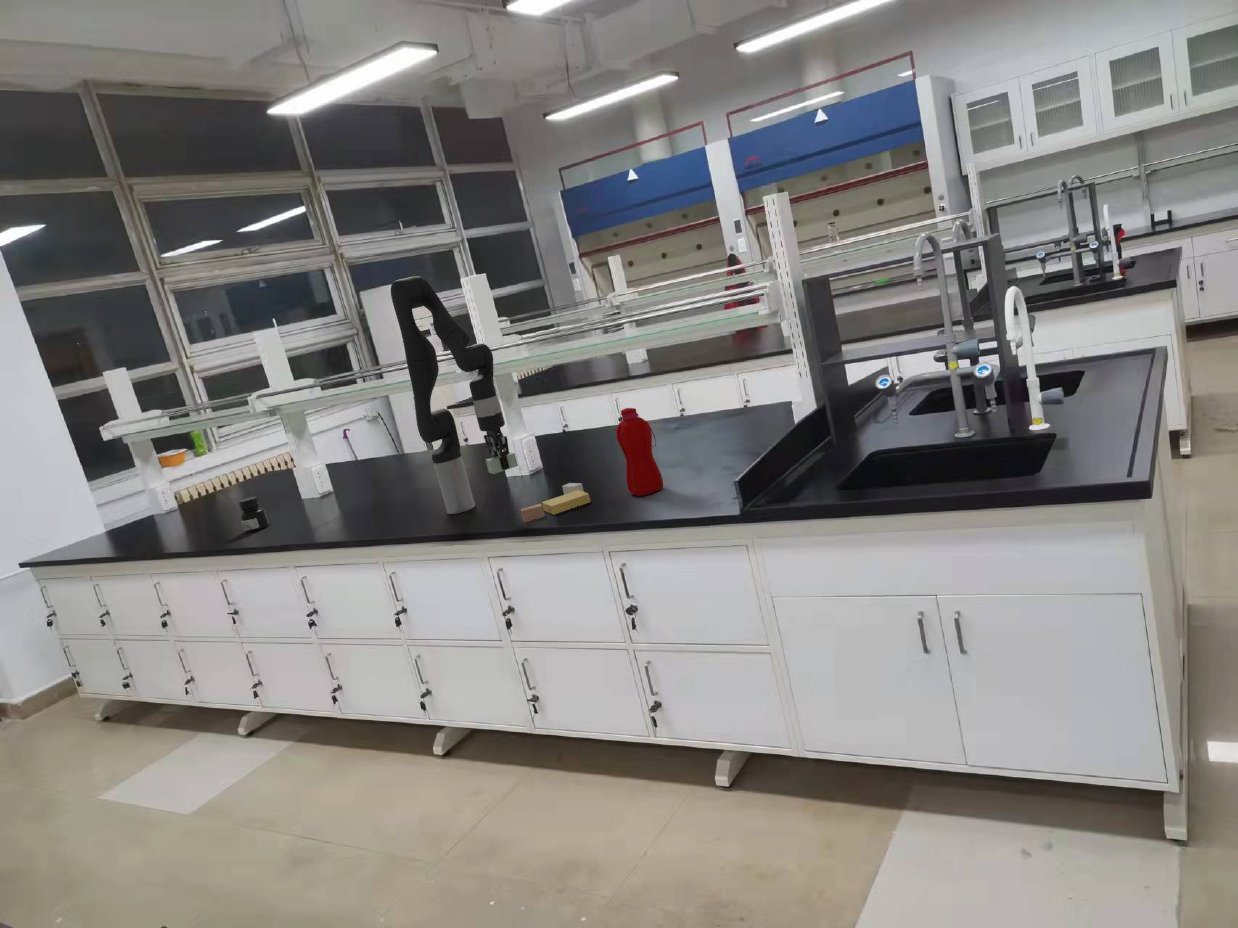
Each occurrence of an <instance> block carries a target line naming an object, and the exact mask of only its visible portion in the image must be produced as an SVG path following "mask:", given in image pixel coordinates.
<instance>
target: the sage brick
mask: <svg viewBox="0 0 1238 928" xmlns="http://www.w3.org/2000/svg"><path fill="white" fill-rule="evenodd" d="M507 459H508V463H509V469H506V470H510V469H514V468H517V467H519V464H518V461H517V456H516V453H515V452H511V451H509V454H508V455H507ZM485 464H486V468H487V471H488V474H489V473H490V474H493V475H495V474H498V473H500V472H501V473H502V472H504V471H506V470H503V469H502V467H501V463H500V460H499V457H498V456H496V457H494V456H492V457H490V458H486V459H485Z"/></svg>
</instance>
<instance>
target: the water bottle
mask: <svg viewBox="0 0 1238 928" xmlns="http://www.w3.org/2000/svg"><path fill="white" fill-rule="evenodd" d="M620 412H621V414H620V415H619V416H621V418H622V420H621V421H620V422H619V423H618V425H617V426H616V428H615V430H616V433H615V434H616V440H617V443H618V445H619V447H620V450H621V451H622V453H623V456H624V459H625V461H626V466H625V467H626V485H627V489H628V491H629V493H630V495H633V496H638V497H645V496H649V495H651V494H653V493H657V492H659V491H661V490H662V489H663V488H664V481H663V480H664V479H663V475H662V473H661V471H660V469H659V466H658V465H657V462H656V460H655V458H654V455H653V450H652V449H653V448H655V447H656V446H657V439H656V437H655V434H654V432H653V430H652V428H651V426H650V424H649V423H648V421H646V420H645V419H644V418H642V417H641V416H639V413H637V412H638V411H637V408H635V407H634V408H633V407H627V408H626V407H625V408H623V409H621V410H620ZM653 438H654V442H655V443H654V446H653V441H652V439H653Z"/></svg>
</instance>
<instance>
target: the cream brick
mask: <svg viewBox="0 0 1238 928" xmlns="http://www.w3.org/2000/svg"><path fill="white" fill-rule="evenodd" d="M577 490H580V491H583V492H585V490H584V487H583V483H579V482H576V483H575V482H574V483H573V482H568V483H566V484H564V485H562V492H563V495H565V494H568V493H571V492H574V491H577Z"/></svg>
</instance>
